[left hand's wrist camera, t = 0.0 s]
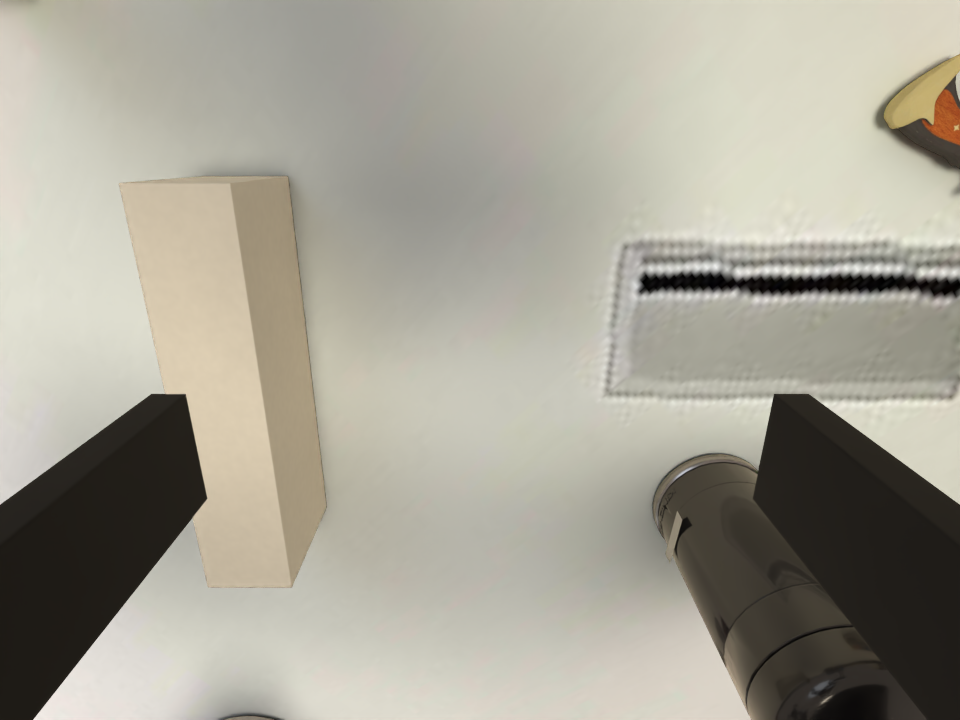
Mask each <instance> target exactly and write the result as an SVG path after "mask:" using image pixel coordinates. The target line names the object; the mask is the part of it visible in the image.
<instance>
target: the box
mask: <svg viewBox="0 0 960 720" xmlns="http://www.w3.org/2000/svg"><path fill="white" fill-rule="evenodd" d="M119 187H120V191H121V196H122V200H123V205H124V209H125V214H126V218H127V223H128V227H129V232H130V236H131V241H132V245H133V250H134V255H135V259H136V264H137V268H138V273H139V277H140V282H141V286H142V291H143V295H144V300H145V304H146V309H147V313H148V318H149V322H150V327H151V332H152V336H153V341H154V345H155V350H156V354H157V359H158V363H159V368H160V372H161V377H162V381H163V386H164V390H165V394H186V397H187V402H188V407H189V412H190V417H191V422H192V427H193V431H194V436H195V441H196V446H197V451H198V456H199V460H200V465H201V470H202V475H203V480H204V485H205V490H206V494H207V500H206V501H205V502H204V504H203V505H202V506H201V508H200V509H199V510H198V511H197V513H196V514H195V515H194V516H193V522H194V526H195V531H196V535H197V540H198V545H199V549H200V554H201V558H202V563H203V567H204V572H205V576H206V581H207V585H208V587H209V588H291V587H292V586H293V584H294V581H295V579H296V577H297V574H298V572H299V570H300V567H301V565H302V563H303V561H304V558H305V556H306V554H307V551H308V549H309V547H310V544H311V542H312V540H313V537H314V535H315V533H316V531H317V528H318V526H319V524H320V521H321V519H322V517H323V514H324V512H325V510H326V507H327V506H326V497H325V489H324V480H323V472H322V463H321V454H320V446H319V437H318V429H317V420H316V412H315V403H314V394H313V386H312V377H311V369H310V360H309V352H308V343H307V335H306V326H305V317H304V309H303V300H302V292H301V283H300V275H299V266H298V257H297V249H296V240H295V232H294V223H293V215H292V206H291V198H290V189H289V180H288V176H199V177H187V178H175V179H163V180H150V181H138V182H126V183H119Z"/></svg>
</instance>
